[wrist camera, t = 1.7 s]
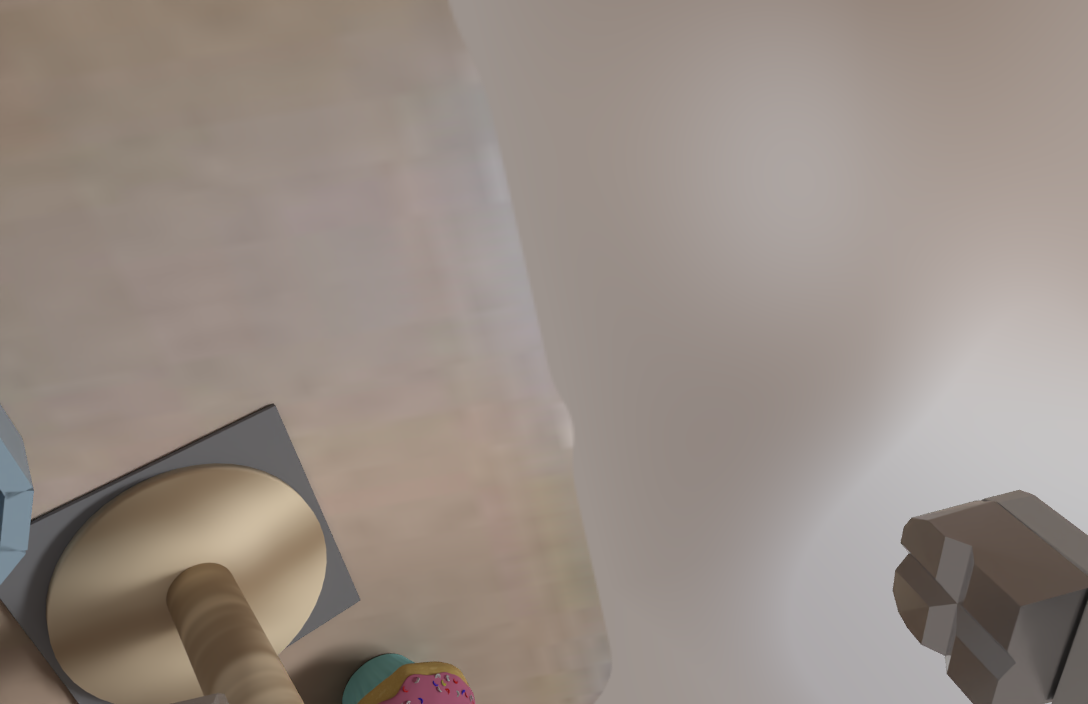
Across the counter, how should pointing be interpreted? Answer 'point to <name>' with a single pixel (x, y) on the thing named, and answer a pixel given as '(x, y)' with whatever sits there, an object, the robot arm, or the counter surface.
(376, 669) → the cupcake
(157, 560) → the brown piece
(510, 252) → the counter surface
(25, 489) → the bowl
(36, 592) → the mat
